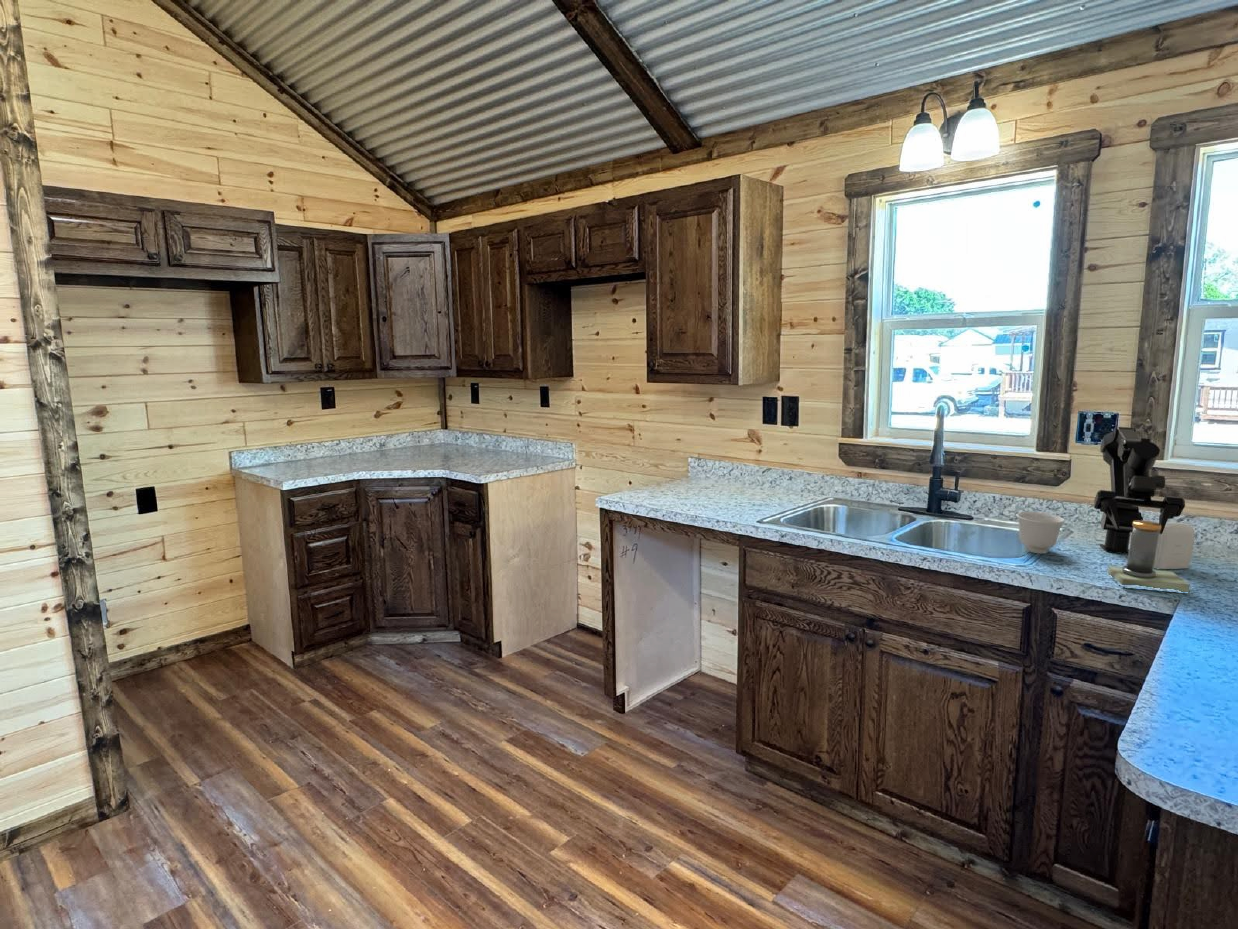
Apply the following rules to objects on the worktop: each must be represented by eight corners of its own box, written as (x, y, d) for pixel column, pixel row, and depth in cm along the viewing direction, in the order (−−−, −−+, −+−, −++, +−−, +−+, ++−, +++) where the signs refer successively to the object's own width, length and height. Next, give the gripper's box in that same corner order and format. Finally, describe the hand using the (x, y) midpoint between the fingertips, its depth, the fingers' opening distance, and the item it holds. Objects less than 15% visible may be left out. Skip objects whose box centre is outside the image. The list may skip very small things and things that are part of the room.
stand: (1107, 575, 188) (1108, 565, 188) (1170, 580, 184) (1171, 571, 184) (1121, 588, 179) (1123, 578, 178) (1188, 594, 175) (1189, 584, 174)
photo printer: (1156, 570, 192) (1164, 525, 190) (1143, 565, 196) (1150, 521, 194) (1192, 569, 193) (1200, 525, 191) (1178, 564, 197) (1185, 520, 195)
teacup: (1060, 546, 213) (1064, 513, 211) (1060, 559, 200) (1065, 524, 198) (1013, 539, 219) (1017, 507, 217) (1011, 552, 206) (1015, 518, 204)
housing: (1115, 569, 184) (1123, 520, 182) (1139, 568, 185) (1147, 519, 183) (1137, 579, 178) (1146, 527, 175) (1162, 578, 179) (1171, 527, 176)
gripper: (1101, 460, 190) (1102, 510, 183) (1189, 466, 183) (1194, 519, 175) (1093, 483, 199) (1093, 532, 191) (1176, 490, 191) (1180, 541, 184)
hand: (1139, 531), depth 185 cm, fingers open, 9 cm apart
